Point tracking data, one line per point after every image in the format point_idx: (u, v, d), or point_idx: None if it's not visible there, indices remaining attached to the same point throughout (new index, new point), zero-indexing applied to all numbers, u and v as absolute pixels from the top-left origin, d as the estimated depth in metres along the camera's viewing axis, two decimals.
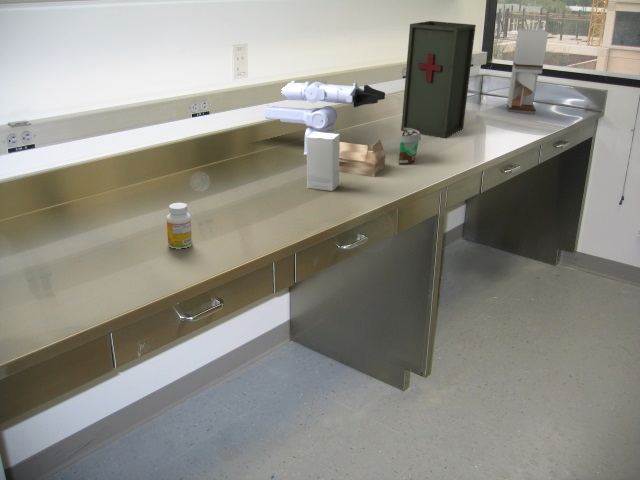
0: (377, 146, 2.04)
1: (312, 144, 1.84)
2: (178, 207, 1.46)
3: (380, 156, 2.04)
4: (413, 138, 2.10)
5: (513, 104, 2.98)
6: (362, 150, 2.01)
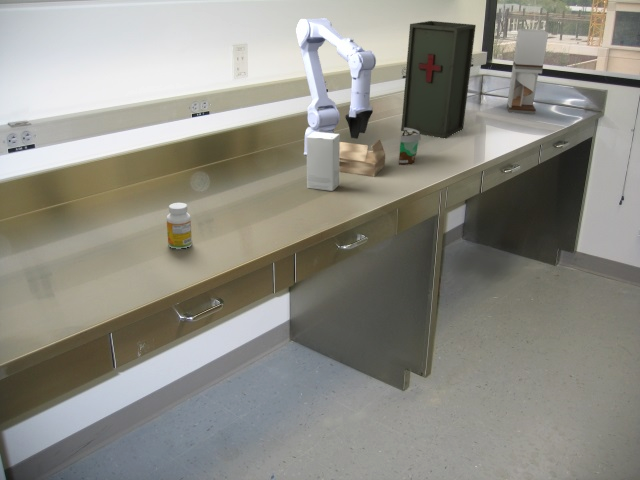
0: (377, 146, 2.04)
1: (312, 144, 1.84)
2: (178, 207, 1.46)
3: (380, 156, 2.04)
4: (413, 138, 2.10)
5: (513, 104, 2.98)
6: (362, 150, 2.01)
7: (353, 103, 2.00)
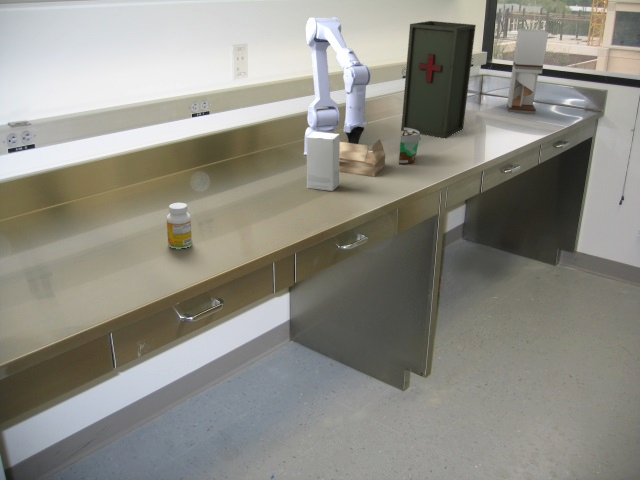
0: (377, 146, 2.04)
1: (312, 144, 1.84)
2: (178, 207, 1.46)
3: (380, 156, 2.04)
4: (413, 138, 2.10)
5: (513, 104, 2.98)
6: (362, 150, 2.01)
7: (348, 118, 1.98)
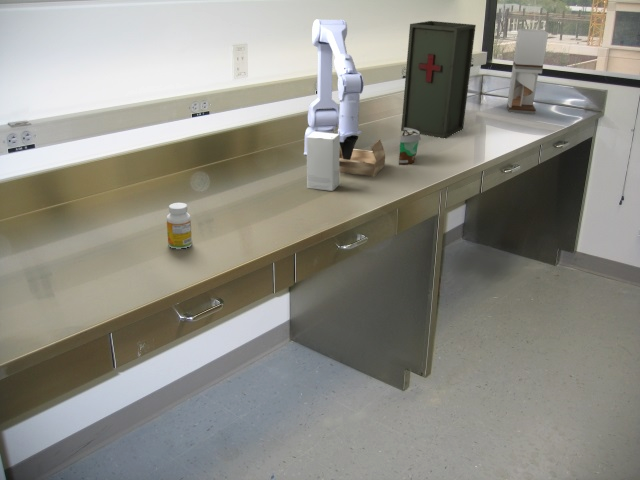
0: (377, 146, 2.04)
1: (312, 144, 1.84)
2: (178, 207, 1.46)
3: (380, 156, 2.04)
4: (413, 138, 2.10)
5: (513, 104, 2.98)
6: None
7: (341, 127, 1.93)
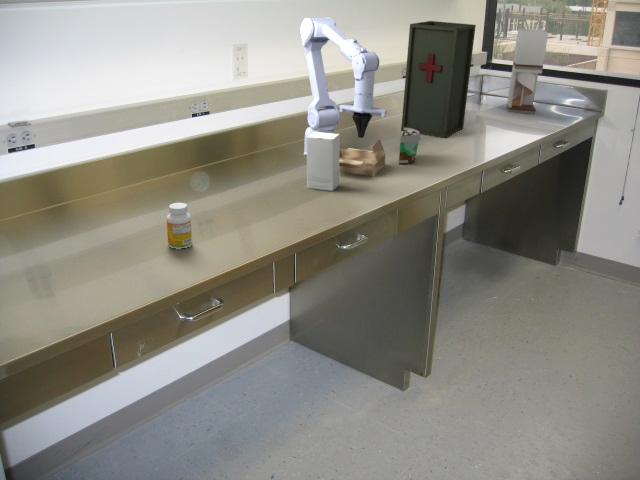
0: (377, 146, 2.04)
1: (312, 144, 1.84)
2: (178, 207, 1.46)
3: (380, 156, 2.04)
4: (413, 138, 2.10)
5: (513, 104, 2.98)
6: None
7: None
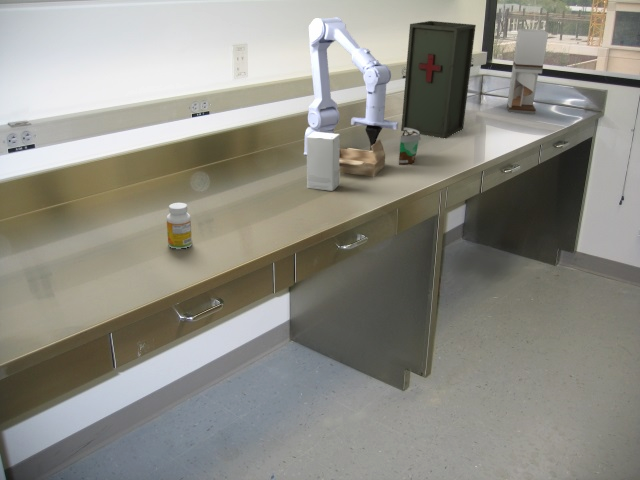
0: (377, 146, 2.04)
1: (312, 144, 1.84)
2: (178, 207, 1.46)
3: (380, 156, 2.04)
4: (413, 138, 2.10)
5: (513, 104, 2.98)
6: None
7: None
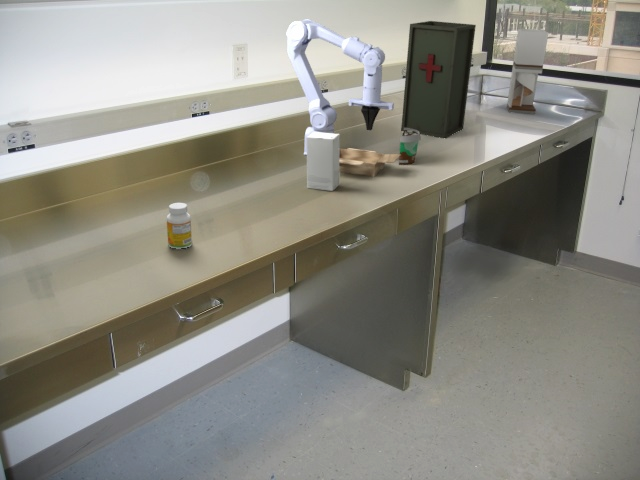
0: None
1: (312, 144, 1.84)
2: (178, 207, 1.46)
3: None
4: (413, 138, 2.10)
5: (513, 104, 2.98)
6: None
7: None
